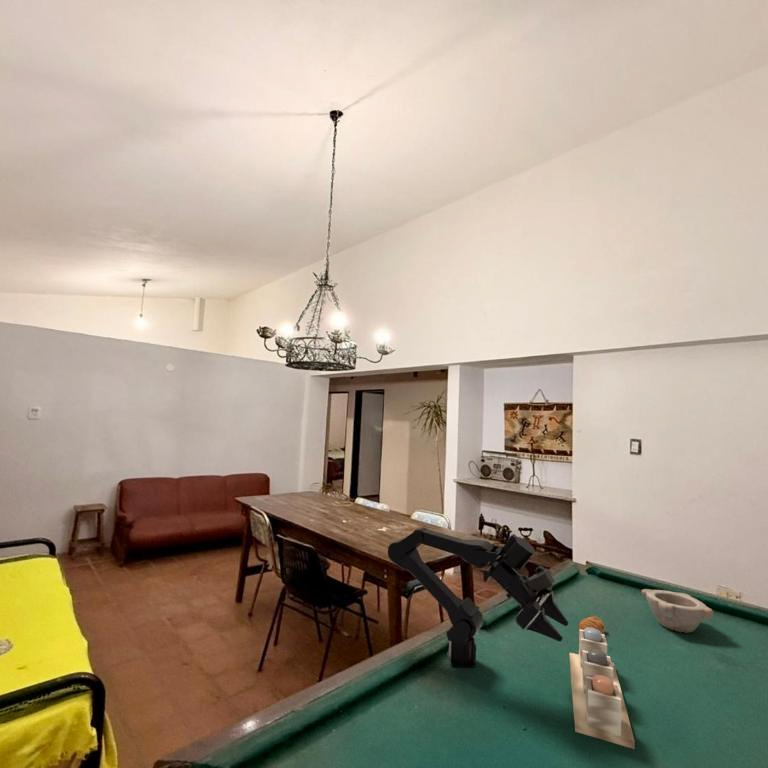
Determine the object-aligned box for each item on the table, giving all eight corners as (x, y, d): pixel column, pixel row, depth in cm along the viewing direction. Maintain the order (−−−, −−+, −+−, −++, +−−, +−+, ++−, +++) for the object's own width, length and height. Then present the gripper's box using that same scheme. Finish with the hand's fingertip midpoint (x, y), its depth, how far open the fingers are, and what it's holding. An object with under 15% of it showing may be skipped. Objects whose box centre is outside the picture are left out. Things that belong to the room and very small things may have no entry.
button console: (575, 731, 90) (575, 689, 91) (569, 658, 119) (570, 626, 119) (634, 749, 86) (634, 704, 87) (613, 668, 115) (614, 635, 115)
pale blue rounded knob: (584, 650, 113) (585, 632, 113) (583, 643, 116) (584, 626, 117) (601, 654, 111) (601, 636, 112) (600, 646, 115) (600, 629, 115)
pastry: (594, 641, 129) (594, 628, 130) (572, 632, 135) (572, 619, 135) (607, 632, 135) (607, 620, 136) (586, 624, 140) (586, 612, 141)
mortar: (688, 618, 149) (688, 591, 150) (719, 642, 132) (718, 611, 133) (637, 612, 152) (637, 585, 152) (660, 635, 135) (660, 605, 136)
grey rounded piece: (588, 674, 102) (588, 655, 102) (587, 665, 105) (587, 647, 106) (607, 679, 100) (607, 659, 100) (605, 670, 104) (605, 651, 104)
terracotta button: (593, 704, 90) (593, 682, 91) (591, 694, 94) (591, 672, 95) (614, 710, 89) (614, 688, 89) (611, 699, 93) (612, 677, 93)
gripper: (521, 569, 100) (580, 623, 93) (537, 550, 116) (589, 595, 108) (494, 602, 102) (549, 658, 95) (513, 579, 118) (562, 625, 111)
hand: (564, 632), depth 102 cm, fingers open, 9 cm apart
